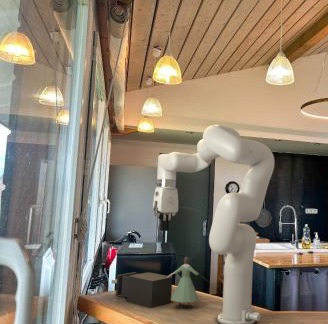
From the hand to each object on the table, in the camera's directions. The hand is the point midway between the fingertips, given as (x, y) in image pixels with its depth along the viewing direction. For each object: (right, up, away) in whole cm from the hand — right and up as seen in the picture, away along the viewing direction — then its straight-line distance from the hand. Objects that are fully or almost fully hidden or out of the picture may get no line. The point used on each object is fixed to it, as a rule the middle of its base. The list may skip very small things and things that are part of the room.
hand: (164, 230), depth 152 cm
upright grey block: (-4, -26, -7) cm, 27 cm away
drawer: (-13, -25, -2) cm, 28 cm away
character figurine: (+11, -26, -12) cm, 31 cm away
